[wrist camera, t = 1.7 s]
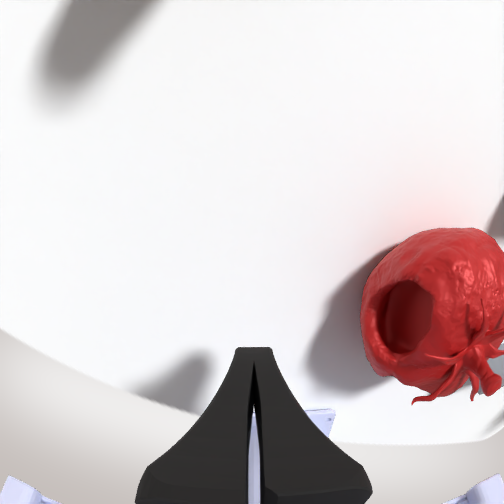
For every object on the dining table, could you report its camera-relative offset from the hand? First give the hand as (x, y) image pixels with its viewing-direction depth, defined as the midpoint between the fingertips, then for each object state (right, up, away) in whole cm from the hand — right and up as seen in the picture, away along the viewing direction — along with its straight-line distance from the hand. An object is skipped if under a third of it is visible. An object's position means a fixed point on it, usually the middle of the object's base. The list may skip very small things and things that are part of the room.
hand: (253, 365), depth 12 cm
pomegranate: (+10, +2, +6) cm, 12 cm away
